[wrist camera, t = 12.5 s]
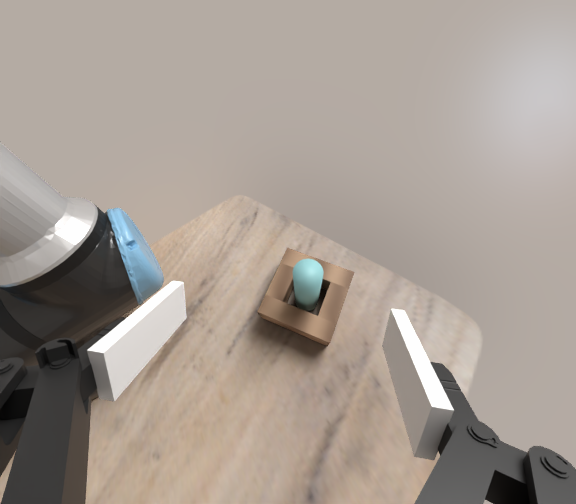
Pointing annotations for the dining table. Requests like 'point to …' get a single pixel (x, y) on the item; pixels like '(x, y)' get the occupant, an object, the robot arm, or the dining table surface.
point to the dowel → (307, 283)
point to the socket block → (296, 318)
